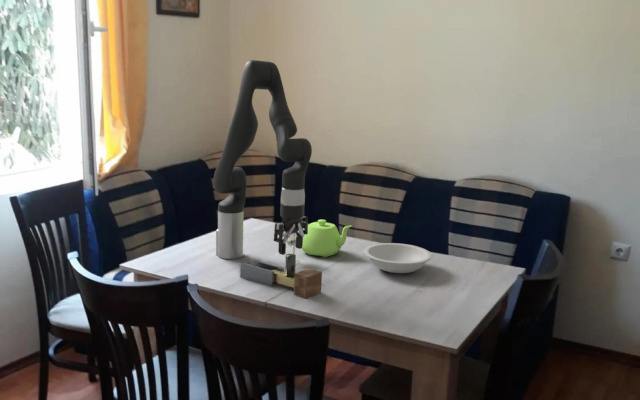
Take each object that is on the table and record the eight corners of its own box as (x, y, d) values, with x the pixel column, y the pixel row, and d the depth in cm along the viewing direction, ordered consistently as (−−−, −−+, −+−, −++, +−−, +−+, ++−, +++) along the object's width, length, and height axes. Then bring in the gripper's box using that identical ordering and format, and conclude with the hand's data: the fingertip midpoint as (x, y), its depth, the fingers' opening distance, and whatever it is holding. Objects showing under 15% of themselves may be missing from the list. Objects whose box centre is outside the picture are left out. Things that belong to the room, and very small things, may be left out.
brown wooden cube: (294, 294, 202) (294, 273, 200) (307, 288, 207) (308, 268, 206) (307, 298, 198) (308, 277, 197) (321, 292, 204) (321, 271, 202)
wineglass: (299, 265, 230) (300, 233, 228) (283, 263, 231) (284, 231, 229) (302, 260, 236) (303, 229, 233) (287, 258, 237) (288, 227, 234)
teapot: (357, 253, 248) (358, 220, 245) (342, 263, 234) (344, 229, 231) (305, 244, 256) (306, 212, 253) (289, 254, 243) (290, 220, 240)
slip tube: (267, 280, 210) (268, 251, 208) (274, 277, 212) (274, 249, 210) (306, 291, 201) (307, 261, 199) (312, 289, 203) (313, 259, 201)
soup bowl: (368, 257, 243) (368, 240, 241) (431, 263, 238) (433, 246, 237) (358, 277, 220) (359, 259, 218) (429, 284, 215) (430, 266, 214)
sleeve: (240, 277, 215) (240, 263, 214) (252, 272, 220) (252, 259, 219) (272, 286, 207) (272, 272, 206) (283, 282, 212) (284, 267, 211)
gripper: (297, 196, 208) (295, 243, 212) (268, 203, 197) (267, 253, 201) (315, 200, 204) (313, 248, 208) (287, 207, 193) (285, 258, 196)
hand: (290, 251), depth 204 cm, fingers open, 8 cm apart
